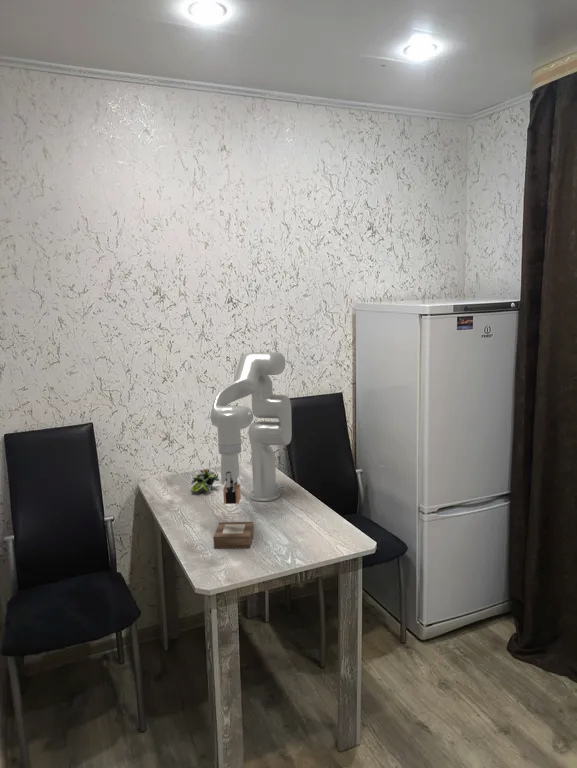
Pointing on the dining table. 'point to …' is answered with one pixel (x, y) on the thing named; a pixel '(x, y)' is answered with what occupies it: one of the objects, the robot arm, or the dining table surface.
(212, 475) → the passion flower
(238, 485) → the terracotta cube
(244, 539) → the walnut frame
